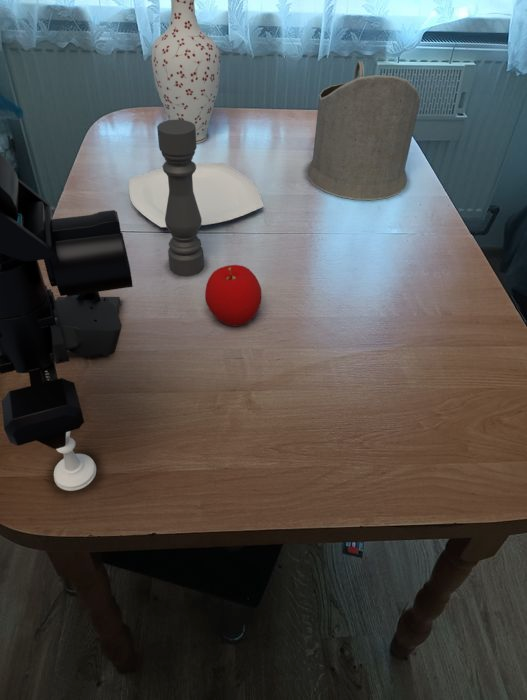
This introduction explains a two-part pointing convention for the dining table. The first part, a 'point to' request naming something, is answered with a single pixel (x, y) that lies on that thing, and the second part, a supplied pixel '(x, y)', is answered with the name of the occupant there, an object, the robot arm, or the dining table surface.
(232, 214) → the plate
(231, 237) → the dining table surface
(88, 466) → the chess piece
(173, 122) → the candle holder
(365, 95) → the pitcher
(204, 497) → the dining table surface
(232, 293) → the fruit
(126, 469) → the dining table surface
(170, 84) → the vase
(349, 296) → the dining table surface
